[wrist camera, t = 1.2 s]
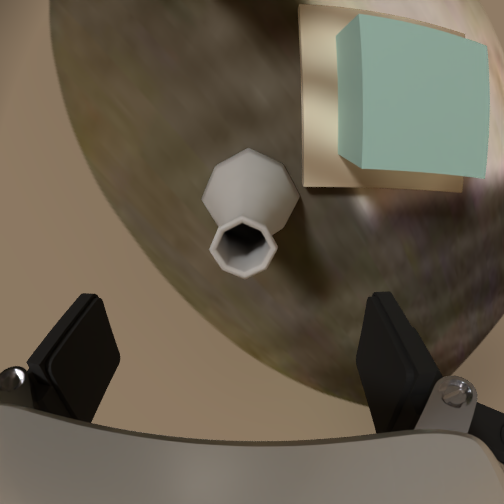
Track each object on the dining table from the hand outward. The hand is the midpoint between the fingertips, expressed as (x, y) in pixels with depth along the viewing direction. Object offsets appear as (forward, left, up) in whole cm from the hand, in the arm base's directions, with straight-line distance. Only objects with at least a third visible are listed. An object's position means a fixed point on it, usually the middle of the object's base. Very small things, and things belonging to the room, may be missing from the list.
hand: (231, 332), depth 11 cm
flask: (0, 0, -16) cm, 16 cm away
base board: (-8, +11, -16) cm, 21 cm away
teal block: (-8, +11, -15) cm, 20 cm away
